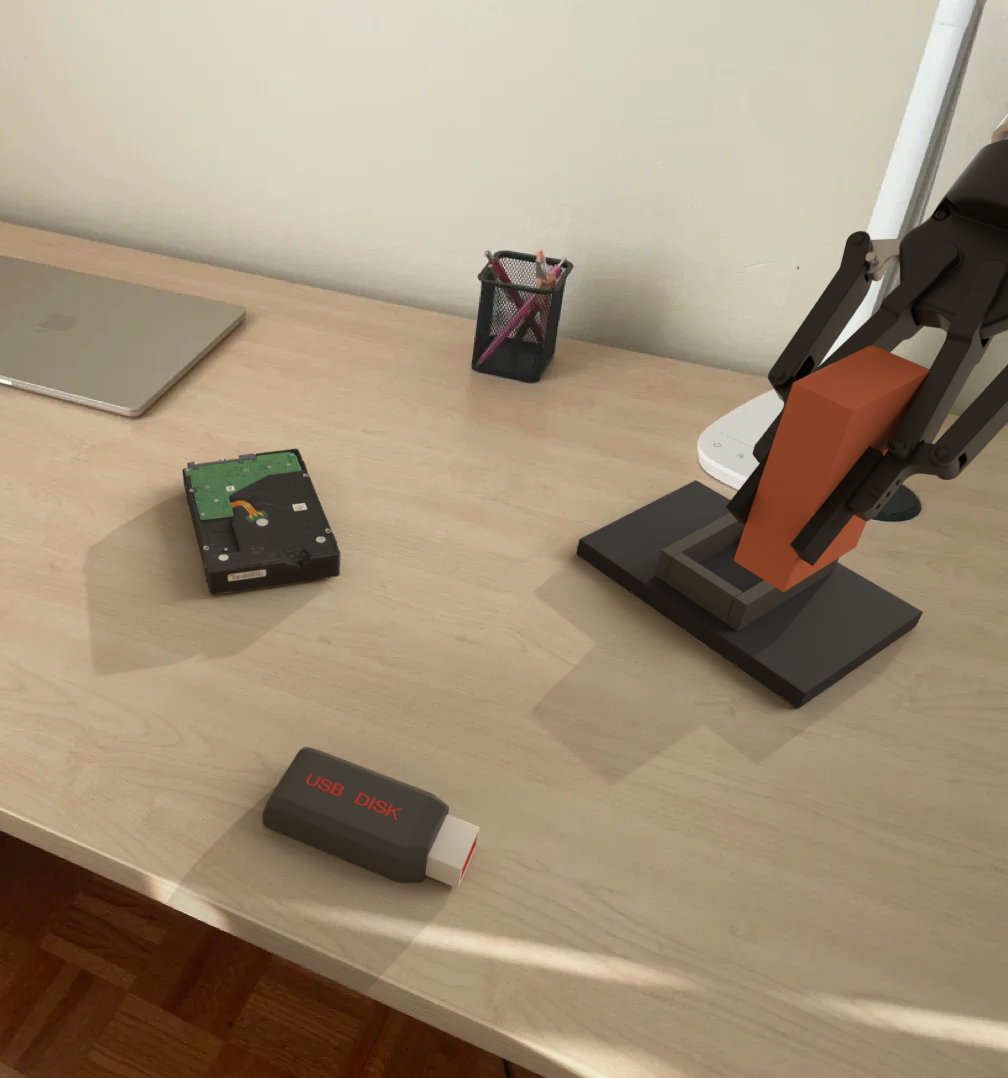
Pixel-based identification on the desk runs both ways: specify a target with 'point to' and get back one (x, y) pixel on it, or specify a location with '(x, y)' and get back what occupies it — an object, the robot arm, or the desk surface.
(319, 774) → the usb drive
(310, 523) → the disk drive
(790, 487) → the orange rectangular block
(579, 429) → the desk surface
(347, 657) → the desk surface
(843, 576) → the socket base
